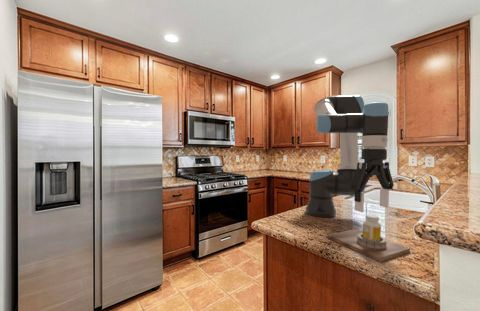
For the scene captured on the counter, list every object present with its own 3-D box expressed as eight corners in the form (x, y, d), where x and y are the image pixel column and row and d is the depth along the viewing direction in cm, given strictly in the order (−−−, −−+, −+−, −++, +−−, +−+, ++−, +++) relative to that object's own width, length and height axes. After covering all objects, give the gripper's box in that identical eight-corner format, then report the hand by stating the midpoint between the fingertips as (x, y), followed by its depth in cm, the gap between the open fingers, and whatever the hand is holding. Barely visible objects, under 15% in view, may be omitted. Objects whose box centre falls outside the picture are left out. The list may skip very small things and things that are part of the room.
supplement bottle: (361, 243, 76) (362, 216, 76) (363, 238, 81) (363, 212, 81) (380, 247, 73) (381, 219, 73) (380, 242, 78) (381, 215, 78)
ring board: (327, 237, 84) (327, 229, 84) (355, 231, 91) (355, 224, 91) (379, 261, 66) (380, 251, 66) (410, 252, 73) (410, 242, 73)
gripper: (360, 148, 68) (357, 216, 68) (406, 148, 78) (404, 207, 79) (339, 148, 74) (337, 210, 75) (385, 148, 85) (383, 202, 86)
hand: (371, 208), depth 77 cm, fingers open, 13 cm apart
